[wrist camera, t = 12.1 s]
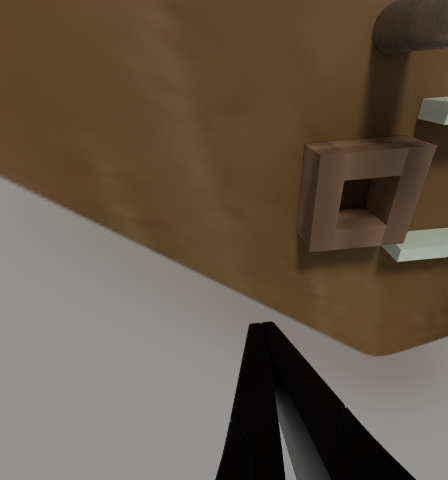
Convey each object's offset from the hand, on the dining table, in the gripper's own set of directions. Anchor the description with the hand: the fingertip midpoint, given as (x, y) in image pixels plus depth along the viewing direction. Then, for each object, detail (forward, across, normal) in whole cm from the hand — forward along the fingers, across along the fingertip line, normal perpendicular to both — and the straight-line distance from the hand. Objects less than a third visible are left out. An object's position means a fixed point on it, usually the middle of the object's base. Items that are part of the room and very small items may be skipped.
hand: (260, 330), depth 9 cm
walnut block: (+12, -9, 0) cm, 15 cm away
